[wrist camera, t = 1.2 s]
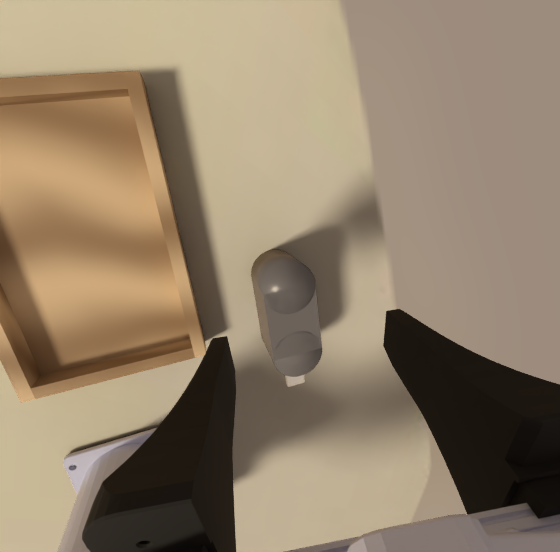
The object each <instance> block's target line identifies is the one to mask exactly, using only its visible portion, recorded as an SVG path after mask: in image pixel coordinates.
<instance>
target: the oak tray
mask: <svg viewBox="0 0 560 552" xmlns="http://www.w3.org/2000/svg"><path fill="white" fill-rule="evenodd" d="M205 353H206V347H205V340H204V335H203V331H202V327H201V322H200V318H199V314H198V310H197V305H196V301H195V297H194V293H193V288H192V284H191V280H190V276H189V271H188V267H187V263H186V259H185V254H184V250H183V246H182V241H181V237H180V233H179V229H178V224H177V220H176V216H175V212H174V207H173V203H172V199H171V195H170V190H169V186H168V182H167V177H166V173H165V169H164V165H163V160H162V156H161V152H160V148H159V143H158V139H157V135H156V131H155V126H154V122H153V118H152V114H151V109H150V105H149V101H148V96H147V92H146V88H145V84H144V81H143V78H142V76H141V74H140V71H125V72H107V73H89V74H71V75H54V76H36V77H18V78H0V360H1V362H2V364H3V366H4V369H5V371H6V373H7V375H8V377H9V379H10V381H11V383H12V385H13V387H14V389H15V391H16V393H17V396H18V398H19V400H20V402H21V403H22V402H26V401H29V400H33V399H37V398H41V397H45V396H49V395H53V394H56V393H60V392H64V391H68V390H72V389H76V388H80V387H84V386H87V385H91V384H95V383H99V382H103V381H107V380H111V379H114V378H118V377H122V376H126V375H130V374H134V373H138V372H142V371H145V370H149V369H153V368H157V367H161V366H165V365H169V364H172V363H176V362H180V361H184V360H188V359H192V358H196V357H200V356H203V355H205Z"/></svg>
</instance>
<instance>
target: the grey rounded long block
mask: <svg viewBox="0 0 560 552" xmlns="http://www.w3.org/2000/svg"><path fill="white" fill-rule="evenodd" d="M251 276H252V282H253V288H254V294H255V300H256V306H257V312H258V318H259V324H260V330H261V336H262V339H263V341H264V343H265V345H266V348H267V350H268V352H269V354H270V356H271V358H272V360H273V362H274V364H275V366H276V368H277V370H278V371H279V372H280V373H282V374H283V375H285V379H286V384H287V386H288V387H291V386H294V385H297V384H301V383H304V382H305V379H304V374H307V373H308V372H310V371H311V370H312V369H313V368H314V367H315V366H316V365H317V364H318V362H319V360H320V358H321V354H322V344H321V334H320V324H319V314H318V304H317V294H316V284H315V278H314V276H313V273H312V272H311V271H310V269H309V268H308V267H306V266H305V265H304V264H302V263H301V262H299V261H298V260H296V259H295V258H294V257H292V256H291V255H289V254H288V253H286V252H284V251H281V250H269V251H266V252H264V253H263V254H261V255H260V256H259V257H258V258H257V259H256V260H255V262H254V264H253V267H252V271H251Z"/></svg>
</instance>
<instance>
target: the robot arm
mask: <svg viewBox="0 0 560 552" xmlns="http://www.w3.org/2000/svg"><path fill="white" fill-rule="evenodd" d="M384 348H385V350H386V353H387V355H388V357H389V359H390V361H391V363H392V366H393V367H394V369H395V371H396V372H397V374H398V375H399V377H400V379H401V380H402V382H403V384H404V385H405V387H406V388H407V390H408V392H409V393H410V395H411V396H412V398H413V400H414V401H415V403H416V404H417V406H418V408H419V409H420V411H421V413H422V415H423V416H424V418H425V420H426V422H427V424H428V426H429V428H430V430H431V432H432V434H433V436H434V438H435V440H436V443H437V445H438V447H439V449H440V451H441V453H442V456H443V457H444V460H445V462H446V464H447V467H448V469H449V471H450V474H451V476H452V478H453V480H454V483H455V485H456V487H457V490H458V492H459V495H460V497H461V500H462V502H463V505H464V507H465V510H466V512H467V514H468V515H466V514H459V515H448V516H444V517H438V518H433V519H428V520H423V521H419V522H413V523H408V524H403V525H398V526H393V527H389V528H384V529H379V530H376V531H372V532H369V533H366V534H363V535H362V536H360V537H355V538H350V539H345V540H340V541H335V542H330V543H325V544H320V545H315V546H310V547H305V548H300V549H295V550H290V551H285V552H560V385H559V384H556V383H552V382H549V381H546V380H543V379H540V378H536V377H533V376H531V375H528V374H525V373H522V372H519V371H516V370H514V369H511V368H509V367H506V366H504V365H501V364H499V363H496V362H494V361H491V360H489V359H487V358H485V357H482V356H480V355H478V354H476V353H474V352H472V351H470V350H468V349H466V348H464V347H462V346H460V345H458V344H457V343H455V342H453V341H451V340H449V339H447V338H446V337H444V336H442V335H441V334H439V333H437V332H436V331H434V330H432V329H431V328H429V327H428V326H426V325H424V324H423V323H421V322H419V321H418V320H417V319H415V318H413V317H412V316H410V315H409V314H407V313H405V312H404V311H402V310H400V309H397V310H390V311H386V323H385V334H384ZM235 399H236V381H235V368H234V364H233V360H232V356H231V351H230V347H229V343H228V339H227V336H226V337H219V338H213V339H212V340H211V342H210V345H209V347H208V349H207V351H206V353H205V356H204V358H203V360H202V362H201V364H200V365H199V367H198V369H197V371H196V373H195V375H194V376H193V378H192V380H191V381H190V383H189V385H188V386H187V388H186V390H185V391H184V393H183V394H182V396H181V397H180V399H179V400H178V402H177V403H176V405H175V406H174V407H173V409H172V410H171V411H170V413H169V414H168V415H167V416H166V418H165V419H164V420H163V421H162V423H161V424H160V425H159V426H158V427H157V428H154V429H151V430H147V431H144V432H141V433H137V434H134V435H131V436H127V437H124V438H121V439H117V440H114V441H111V442H107V443H104V444H101V445H97V446H94V447H91V448H87V449H84V450H81V451H77V452H74V453H71V454H68V455H67V456H65V458H64V461H63V465H64V467H65V470H66V472H67V474H68V476H69V478H70V480H71V482H72V485H73V487H74V489H75V491H76V493H77V498H76V500H75V503H74V506H73V509H72V511H71V514H70V517H69V520H68V523H67V525H66V528H65V531H64V534H63V537H62V539H61V542H60V545H59V548H58V551H57V552H236V540H235V519H234V495H233V461H232V445H233V428H234V414H235ZM72 465H76V466H72Z"/></svg>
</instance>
